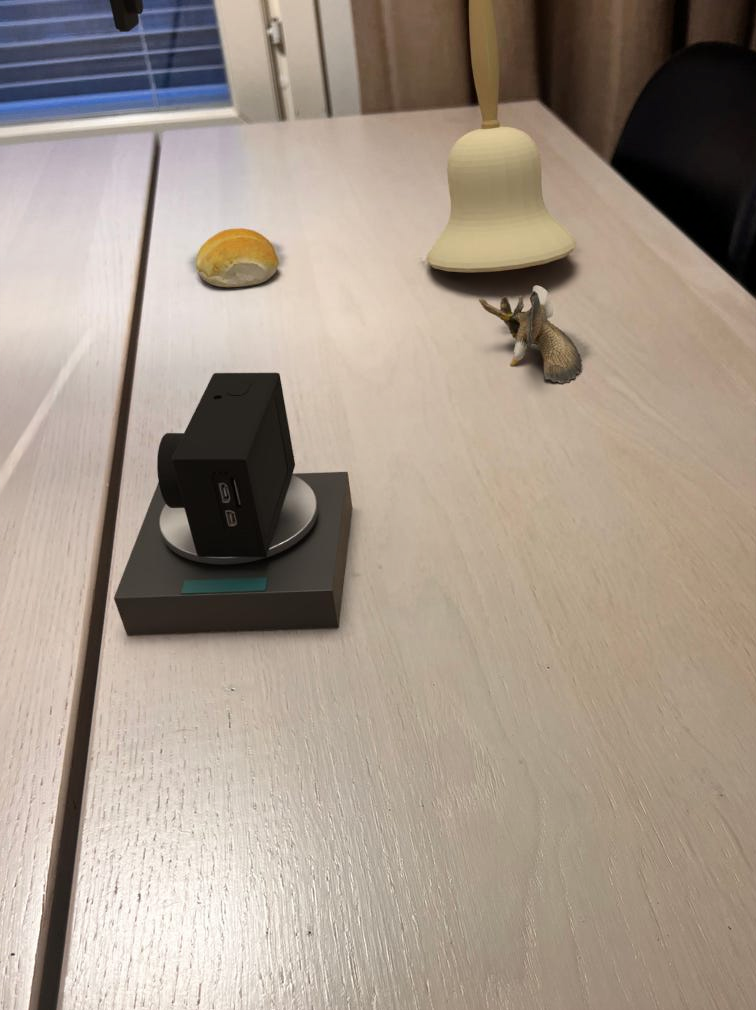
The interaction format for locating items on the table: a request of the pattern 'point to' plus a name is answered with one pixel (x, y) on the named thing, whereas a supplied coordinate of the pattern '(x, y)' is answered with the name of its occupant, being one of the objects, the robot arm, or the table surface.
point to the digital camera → (231, 465)
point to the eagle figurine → (539, 335)
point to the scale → (241, 577)
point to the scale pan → (288, 531)
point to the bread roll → (236, 258)
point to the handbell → (495, 181)
